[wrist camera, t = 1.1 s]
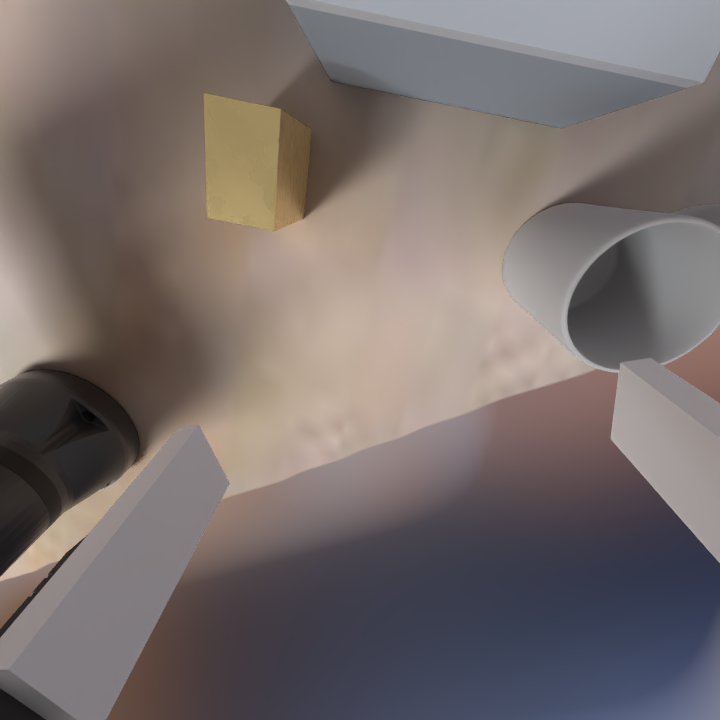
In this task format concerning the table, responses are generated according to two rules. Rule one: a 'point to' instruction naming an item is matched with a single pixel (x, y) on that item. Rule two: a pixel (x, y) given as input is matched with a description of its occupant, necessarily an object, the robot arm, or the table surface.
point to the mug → (619, 280)
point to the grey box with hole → (517, 51)
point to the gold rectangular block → (254, 163)
